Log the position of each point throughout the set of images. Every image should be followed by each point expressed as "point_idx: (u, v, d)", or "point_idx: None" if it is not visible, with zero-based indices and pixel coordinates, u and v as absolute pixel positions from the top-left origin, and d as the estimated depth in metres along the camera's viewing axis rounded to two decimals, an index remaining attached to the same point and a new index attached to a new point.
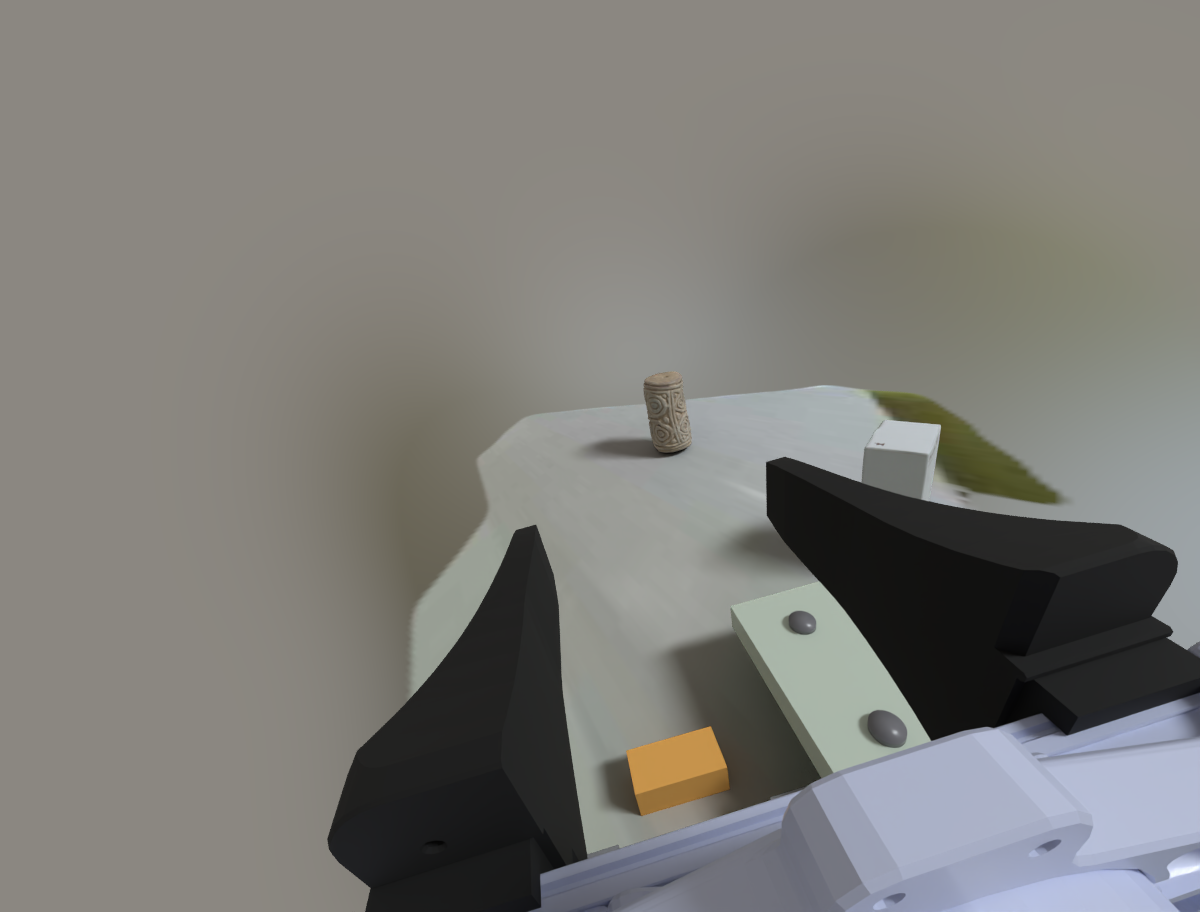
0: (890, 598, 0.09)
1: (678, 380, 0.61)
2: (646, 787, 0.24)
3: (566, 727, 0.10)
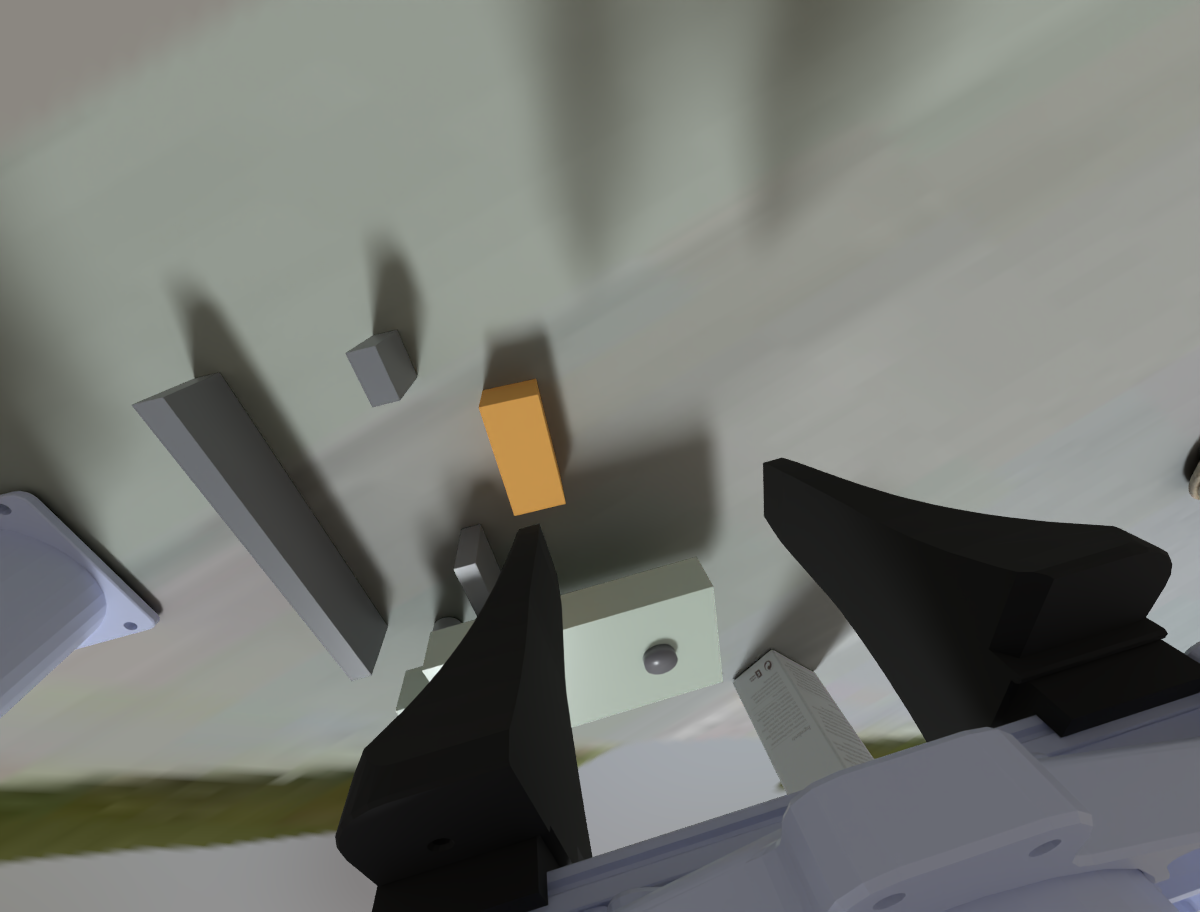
0: (886, 599, 0.09)
1: None
2: (488, 422, 0.17)
3: (570, 726, 0.10)
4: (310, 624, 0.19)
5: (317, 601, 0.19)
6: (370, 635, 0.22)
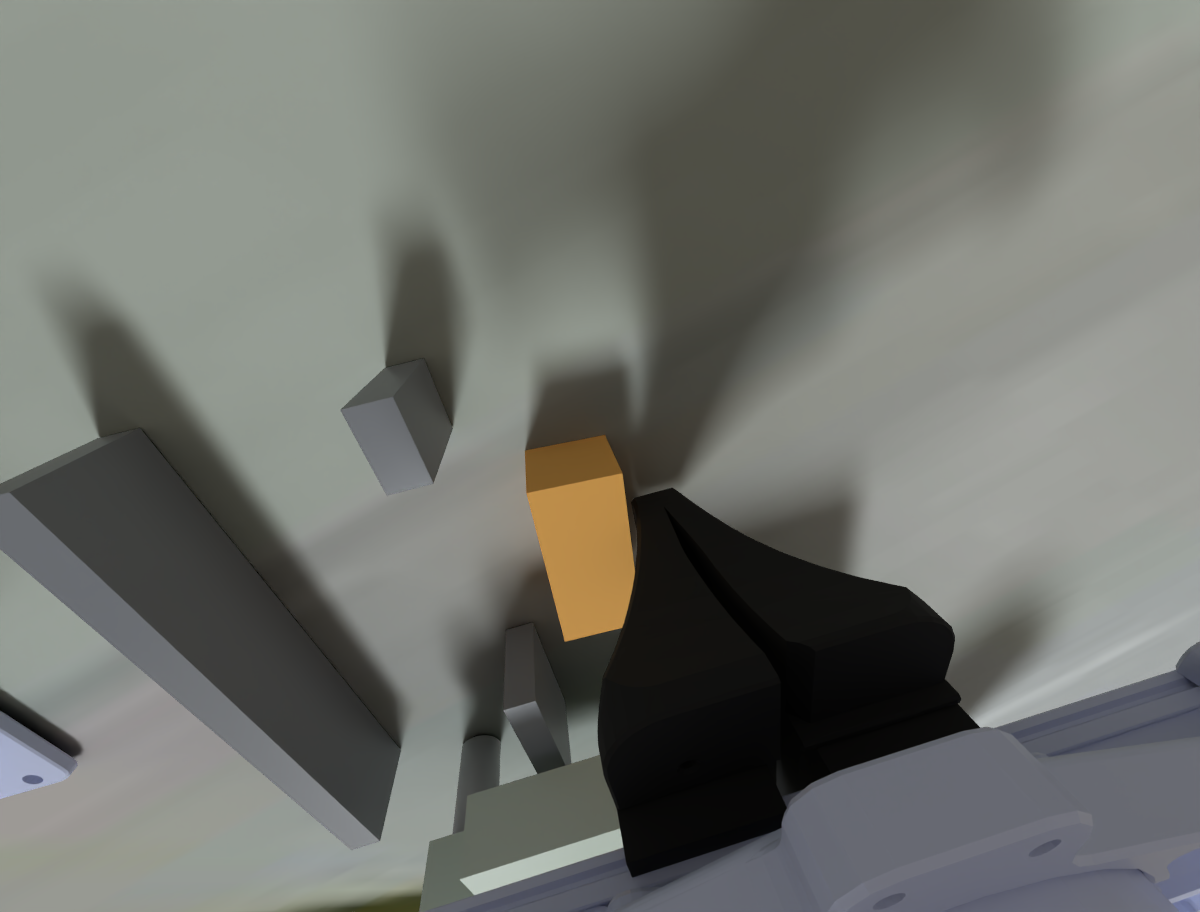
0: None
1: None
2: (540, 515, 0.11)
3: None
4: (290, 792, 0.13)
5: (300, 762, 0.12)
6: (378, 777, 0.16)
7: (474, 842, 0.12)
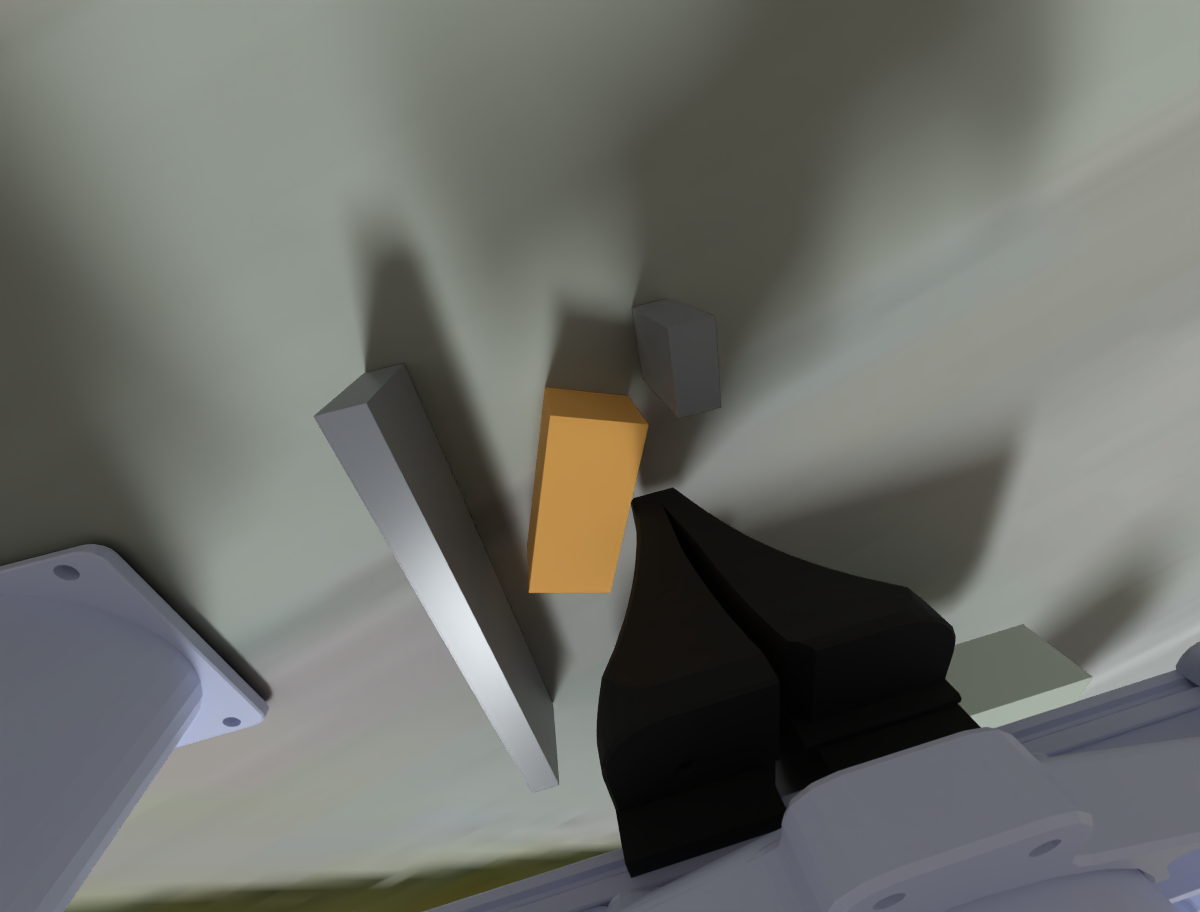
0: None
1: None
2: (555, 443, 0.10)
3: None
4: (500, 728, 0.13)
5: (515, 698, 0.13)
6: (548, 725, 0.16)
7: None
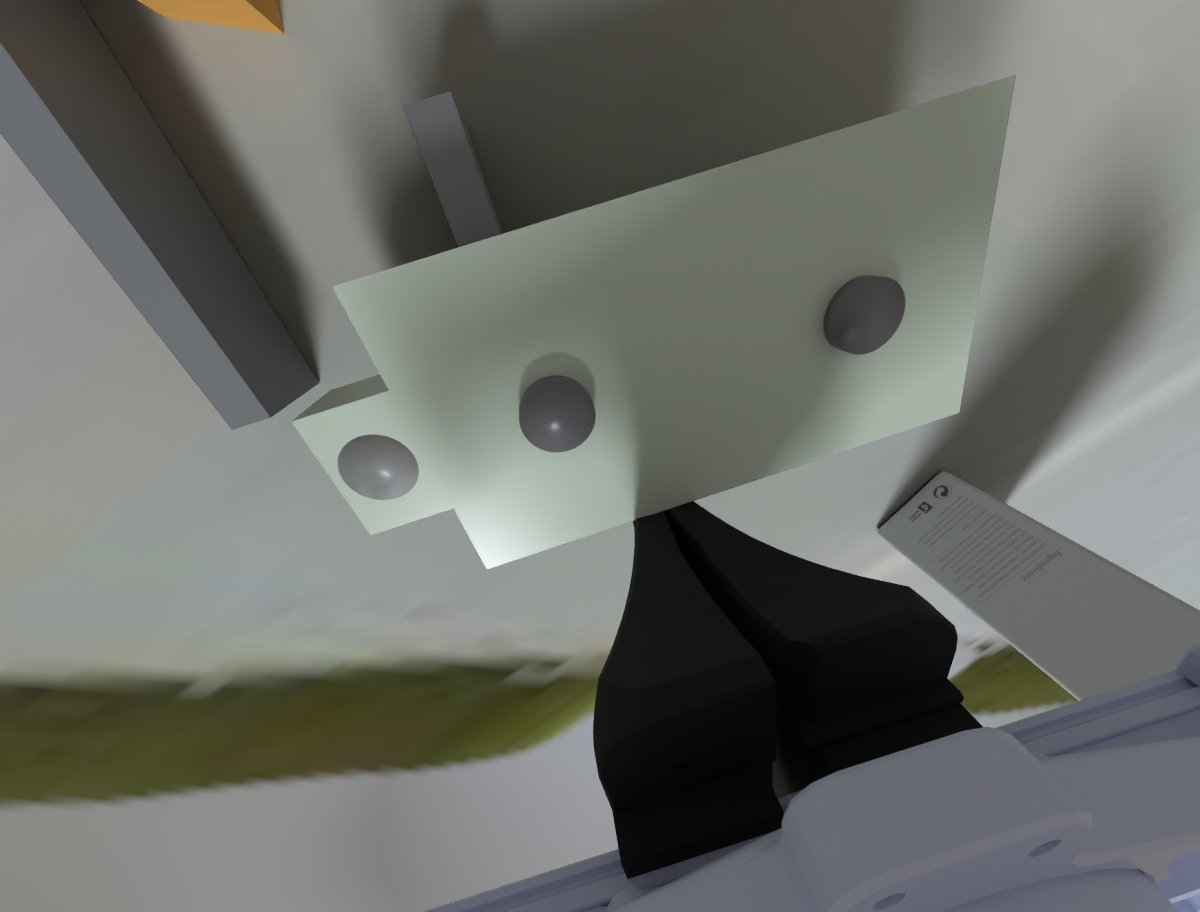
0: None
1: None
2: None
3: None
4: (102, 253, 0.09)
5: (102, 182, 0.08)
6: (273, 361, 0.11)
7: None
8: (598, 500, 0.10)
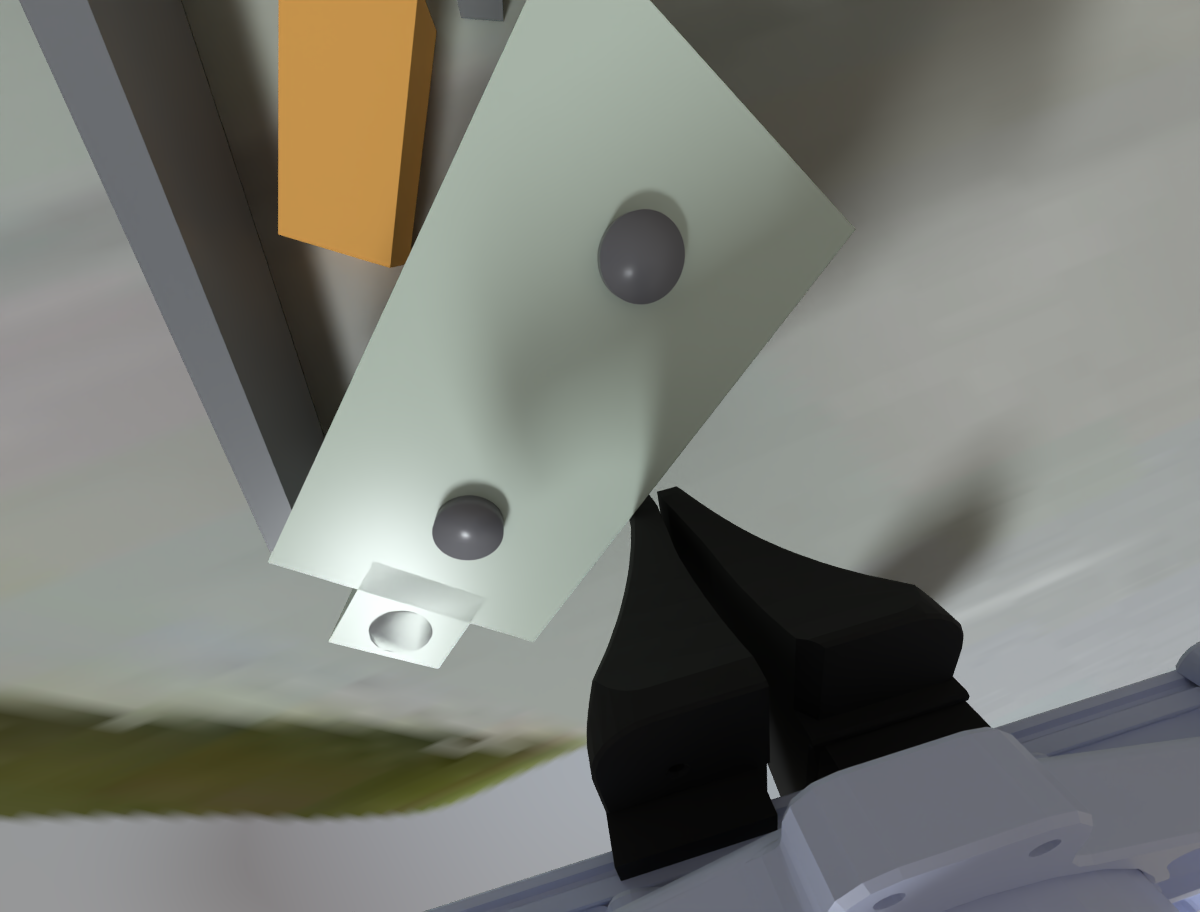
0: None
1: None
2: None
3: None
4: (217, 421, 0.11)
5: (239, 377, 0.10)
6: None
7: None
8: (565, 552, 0.11)
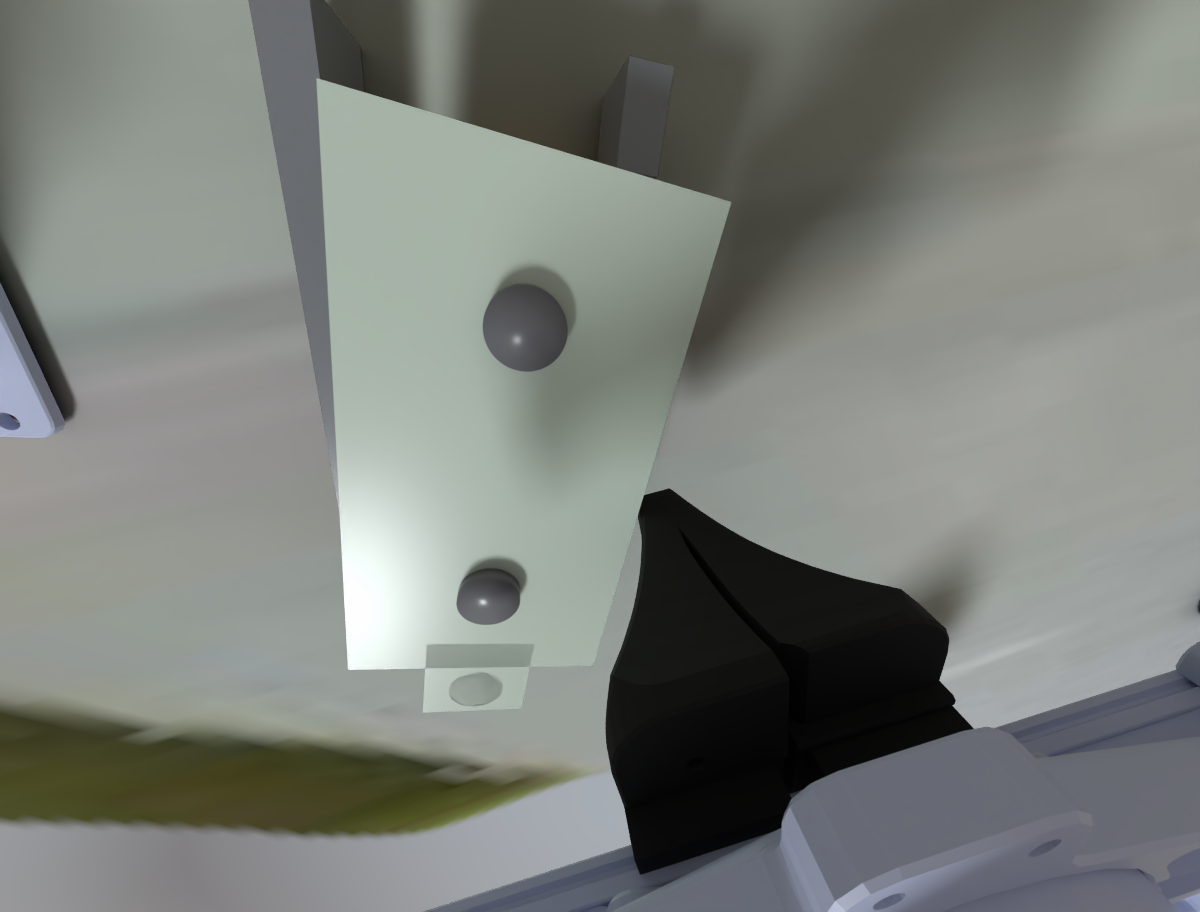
0: None
1: None
2: None
3: None
4: None
5: None
6: None
7: None
8: (584, 587, 0.12)
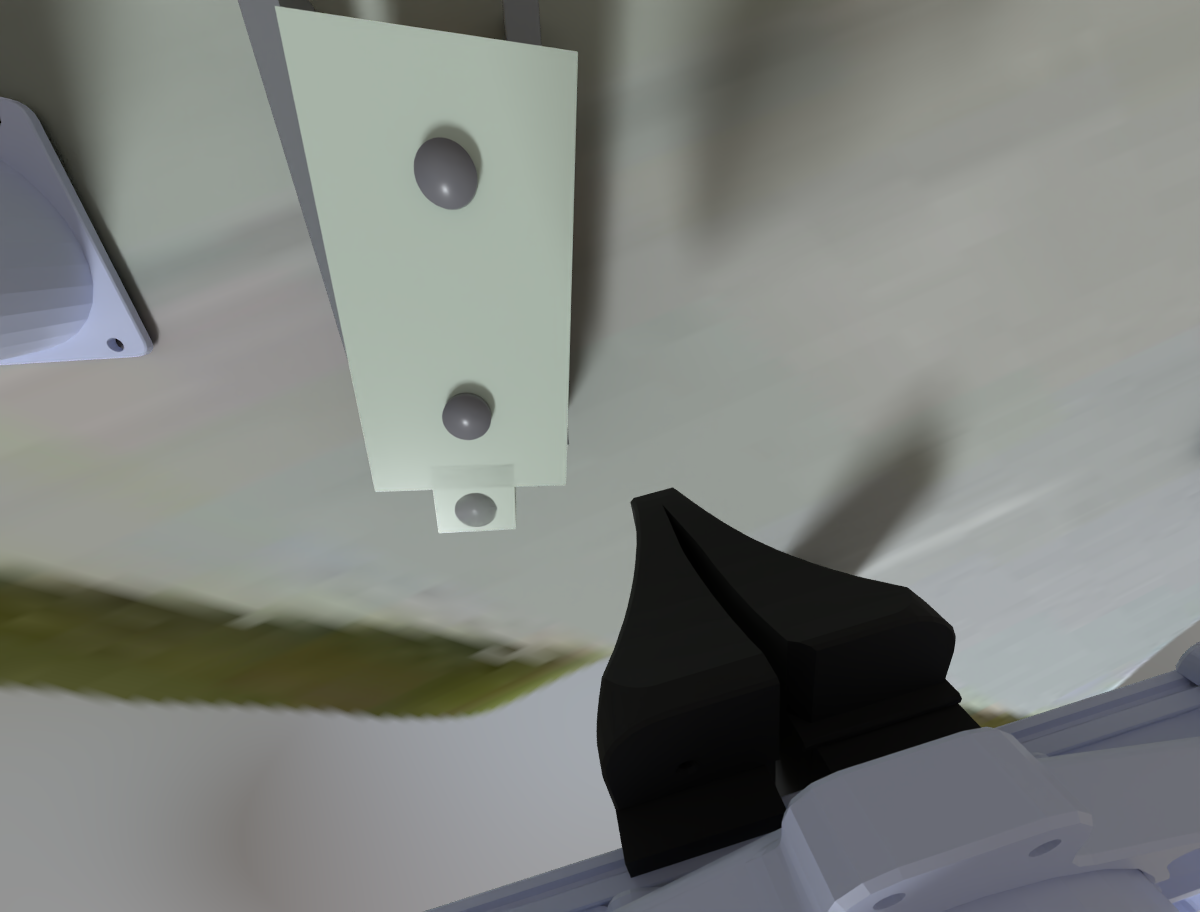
0: None
1: None
2: None
3: None
4: None
5: None
6: None
7: None
8: (541, 407, 0.15)
